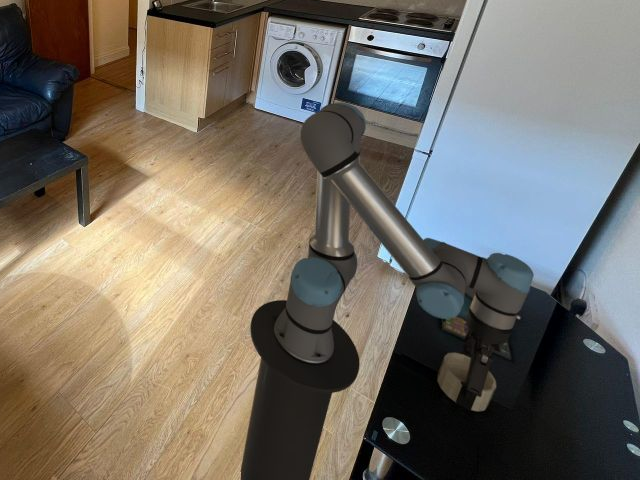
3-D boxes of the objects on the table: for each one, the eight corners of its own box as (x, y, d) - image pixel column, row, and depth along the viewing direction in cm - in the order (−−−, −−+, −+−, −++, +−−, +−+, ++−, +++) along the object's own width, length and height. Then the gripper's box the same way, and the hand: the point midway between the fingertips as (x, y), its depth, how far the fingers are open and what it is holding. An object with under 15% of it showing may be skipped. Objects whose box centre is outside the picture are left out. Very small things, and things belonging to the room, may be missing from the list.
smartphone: (510, 360, 108) (512, 356, 108) (441, 330, 116) (442, 327, 116) (506, 339, 114) (507, 336, 114) (441, 312, 123) (442, 309, 122)
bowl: (436, 395, 98) (444, 373, 96) (437, 365, 106) (444, 345, 104) (488, 422, 93) (498, 400, 91) (485, 389, 100) (494, 368, 98)
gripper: (519, 363, 81) (485, 439, 88) (507, 296, 98) (479, 364, 105) (471, 342, 86) (443, 416, 92) (468, 281, 103) (444, 348, 110)
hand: (462, 388), depth 99 cm, fingers closed on bowl, 10 cm apart
